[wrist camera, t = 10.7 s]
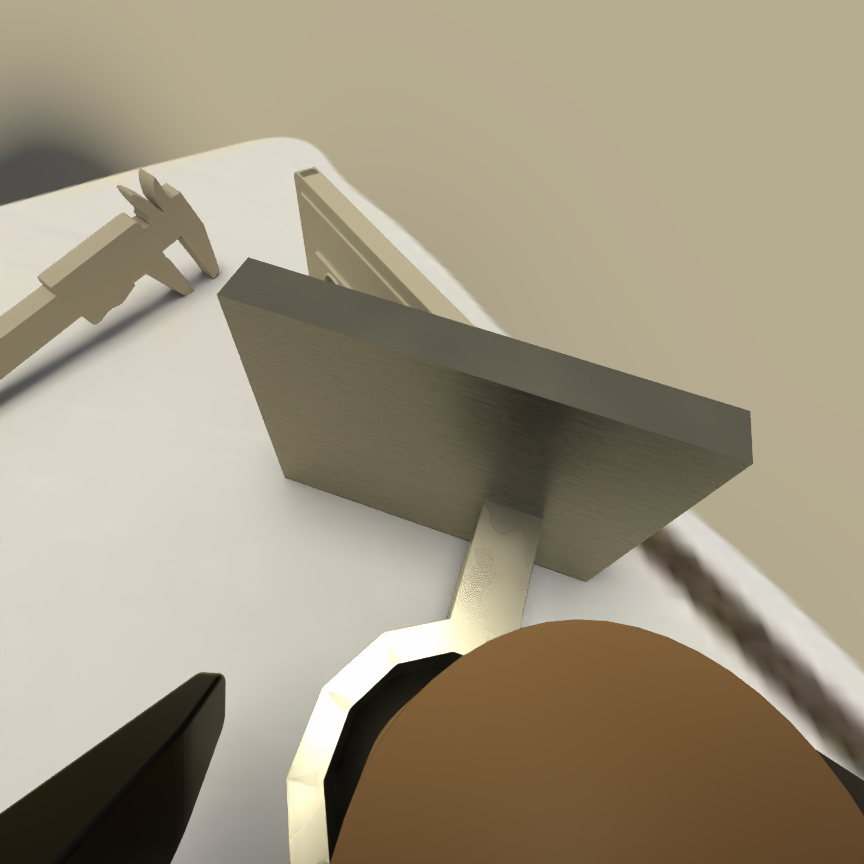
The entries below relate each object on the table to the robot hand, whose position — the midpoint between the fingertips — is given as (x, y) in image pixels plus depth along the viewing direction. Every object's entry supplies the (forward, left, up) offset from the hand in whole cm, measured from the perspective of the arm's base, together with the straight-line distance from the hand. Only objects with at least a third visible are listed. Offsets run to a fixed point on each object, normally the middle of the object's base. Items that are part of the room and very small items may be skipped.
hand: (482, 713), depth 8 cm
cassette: (+13, +7, -9) cm, 17 cm away
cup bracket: (+1, +2, -9) cm, 9 cm away
